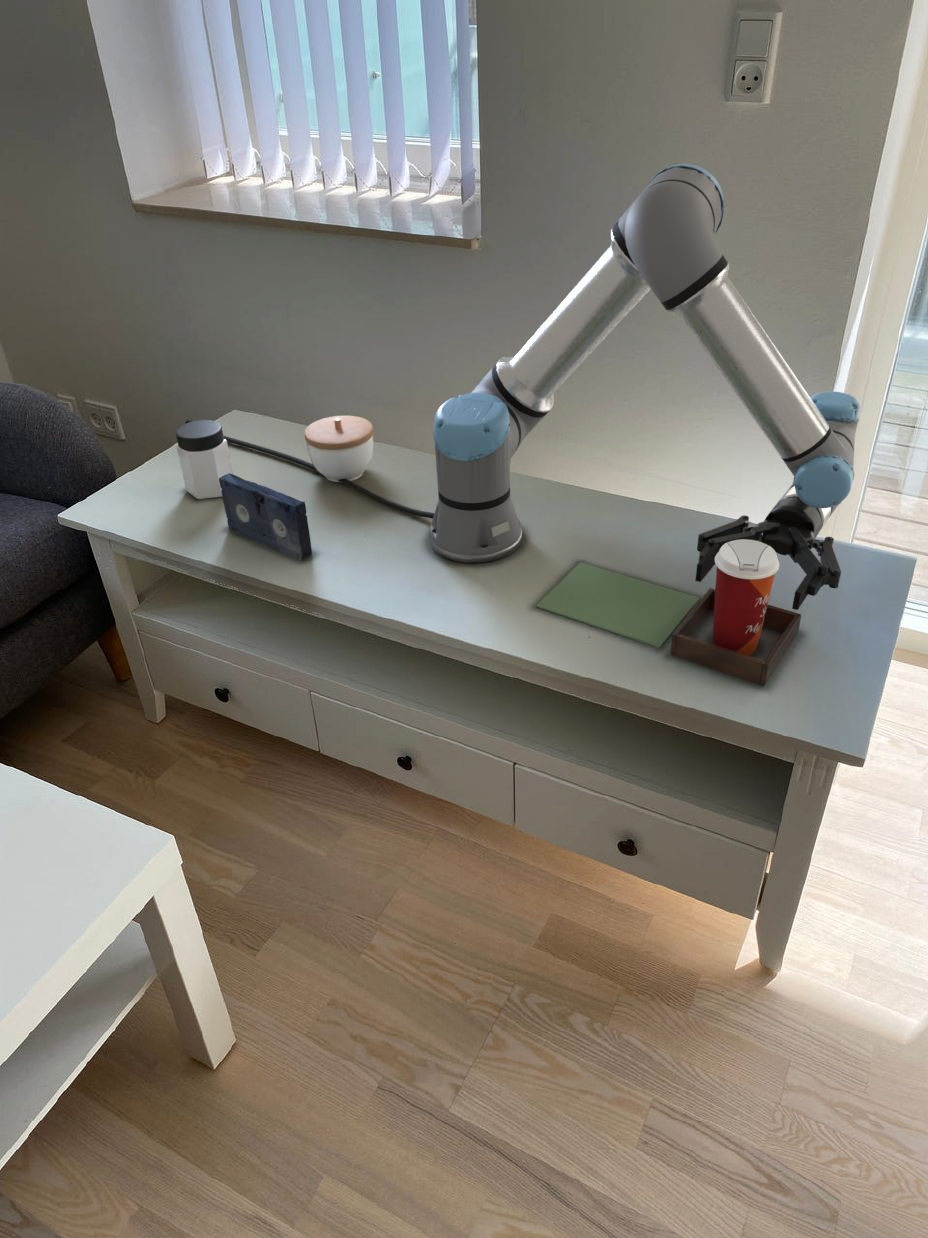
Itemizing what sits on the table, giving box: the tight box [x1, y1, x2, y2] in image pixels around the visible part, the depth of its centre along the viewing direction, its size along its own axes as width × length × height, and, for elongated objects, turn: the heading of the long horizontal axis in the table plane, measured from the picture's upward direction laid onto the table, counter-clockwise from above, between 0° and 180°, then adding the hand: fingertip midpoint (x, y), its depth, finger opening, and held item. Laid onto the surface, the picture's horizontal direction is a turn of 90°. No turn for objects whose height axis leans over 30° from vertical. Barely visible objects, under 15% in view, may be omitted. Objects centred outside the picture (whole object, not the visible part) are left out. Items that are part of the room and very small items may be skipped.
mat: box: [535, 562, 700, 649], centre depth 145 cm, size 20×14×1 cm
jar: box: [175, 419, 234, 500], centre depth 178 cm, size 9×8×12 cm
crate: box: [669, 587, 802, 687], centre depth 135 cm, size 13×13×4 cm
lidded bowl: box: [303, 415, 375, 483], centre depth 181 cm, size 13×13×11 cm
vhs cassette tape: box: [219, 473, 313, 561], centre depth 161 cm, size 18×3×10 cm, turn 51°
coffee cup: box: [712, 539, 780, 656], centre depth 132 cm, size 8×8×15 cm
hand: (746, 587), depth 132 cm, fingers open, 13 cm apart
